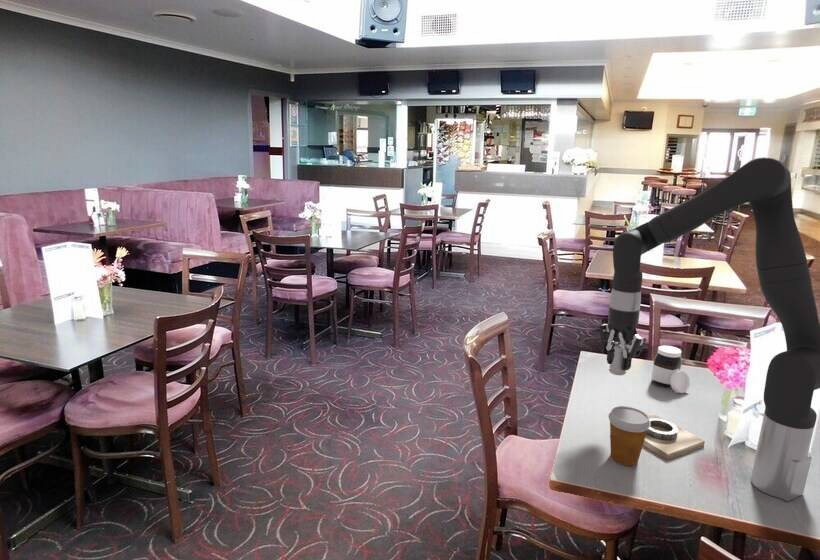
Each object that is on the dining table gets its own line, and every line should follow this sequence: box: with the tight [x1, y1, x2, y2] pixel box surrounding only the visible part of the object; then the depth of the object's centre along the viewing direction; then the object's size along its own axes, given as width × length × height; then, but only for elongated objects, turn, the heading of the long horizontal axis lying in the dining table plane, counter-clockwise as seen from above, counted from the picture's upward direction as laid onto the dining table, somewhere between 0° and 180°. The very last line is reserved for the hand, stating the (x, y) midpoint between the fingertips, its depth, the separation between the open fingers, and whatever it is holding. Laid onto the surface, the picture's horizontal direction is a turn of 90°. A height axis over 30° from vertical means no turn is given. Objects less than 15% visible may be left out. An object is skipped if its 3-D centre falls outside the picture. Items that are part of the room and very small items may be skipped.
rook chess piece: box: [608, 343, 627, 376], centre depth 145 cm, size 4×4×8 cm
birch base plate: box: [643, 412, 706, 461], centre depth 142 cm, size 16×14×2 cm
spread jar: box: [650, 345, 691, 394], centre depth 172 cm, size 12×11×12 cm
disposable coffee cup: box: [608, 405, 651, 467], centre depth 131 cm, size 10×10×12 cm
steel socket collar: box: [646, 418, 678, 441], centre depth 142 cm, size 8×8×2 cm
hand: (618, 366), depth 146 cm, fingers closed on rook chess piece, 4 cm apart
